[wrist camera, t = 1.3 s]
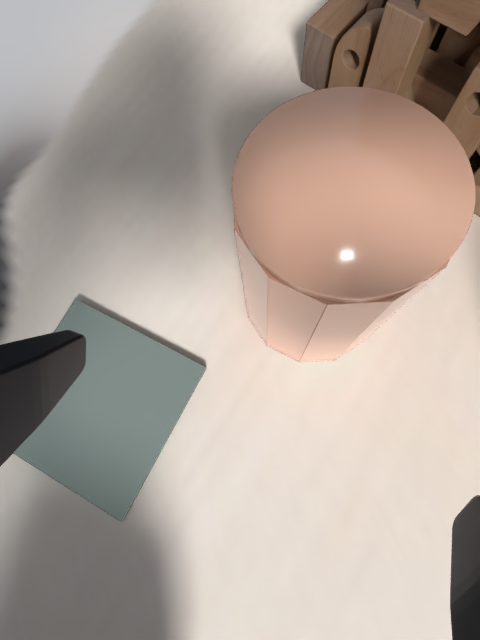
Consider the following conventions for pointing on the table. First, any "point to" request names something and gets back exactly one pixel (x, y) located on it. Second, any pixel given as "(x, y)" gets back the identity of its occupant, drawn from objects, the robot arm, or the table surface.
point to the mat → (112, 412)
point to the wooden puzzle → (404, 57)
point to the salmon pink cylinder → (344, 215)
